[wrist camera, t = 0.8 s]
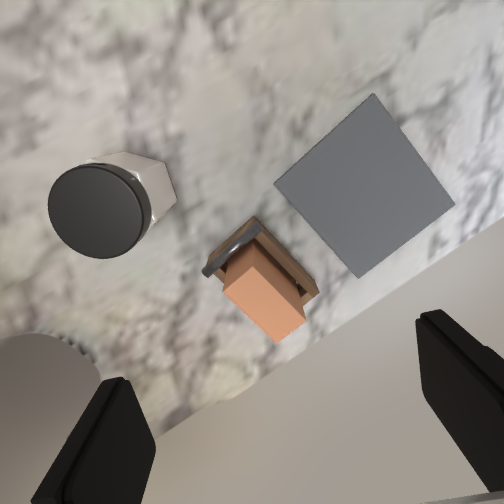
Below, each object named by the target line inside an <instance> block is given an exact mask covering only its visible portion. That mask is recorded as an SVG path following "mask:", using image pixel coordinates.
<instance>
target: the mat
mask: <svg viewBox="0 0 504 504" xmlns="http://www.w3.org/2000/svg"><path fill="white" fill-rule="evenodd" d="M274 185H275V186H276V188H277V189H278V190H279V191H280V192H281V193H282V194H283V195H284V196H285V198H286V199H287V200H288V201H289V202H290V203H291V204H292V205H293V207H294V208H295V209H296V210H297V211H298V212H299V213H300V214H301V216H302V217H303V218H304V219H305V220H306V221H307V222H308V223H309V224H310V226H311V227H312V228H313V229H314V230H315V231H316V232H317V233H318V235H319V236H320V237H321V238H322V239H323V240H324V241H325V242H326V244H327V245H328V246H329V247H330V248H331V249H332V250H333V251H334V252H335V254H336V255H337V256H338V257H339V258H340V259H341V260H342V261H343V263H344V264H345V265H346V266H347V267H348V268H349V269H350V270H351V271H352V273H353V274H354V275H355V276H356V277H357V278H358V279H359V278H360V277H362V276H363V275H364V274H365V273H367V272H368V271H369V270H371V269H372V268H373V267H375V266H376V265H377V264H379V263H380V262H381V261H382V260H384V259H385V258H386V257H388V256H389V255H390V254H392V253H393V252H394V251H396V250H397V249H398V248H399V247H401V246H402V245H403V244H405V243H406V242H407V241H409V240H410V239H411V238H413V237H414V236H415V235H416V234H418V233H419V232H420V231H422V230H423V229H424V228H426V227H427V226H428V225H430V224H431V223H432V222H433V221H435V220H436V219H437V218H439V217H440V216H441V215H443V214H444V213H445V212H447V211H448V210H449V209H450V208H452V207H453V206H454V205H456V204H455V203H454V202H453V200H452V199H451V197H450V196H449V195H448V193H447V192H446V191H445V189H444V188H443V187H442V185H441V184H440V182H439V181H438V180H437V178H436V177H435V176H434V174H433V173H432V172H431V170H430V169H429V167H428V166H427V165H426V163H425V162H424V161H423V159H422V158H421V156H420V155H419V154H418V152H417V151H416V150H415V148H414V147H413V146H412V144H411V143H410V141H409V140H408V139H407V137H406V136H405V135H404V133H403V132H402V131H401V129H400V128H399V126H398V125H397V124H396V122H395V121H394V120H393V118H392V117H391V116H390V114H389V113H388V111H387V110H386V109H385V107H384V106H383V105H382V103H381V102H380V101H379V99H378V98H377V96H376V95H375V94H372V95H371V96H369V97H368V98H367V99H366V100H365V101H364V102H363V103H362V104H361V105H360V106H358V107H357V108H356V109H355V110H354V111H353V112H352V113H351V114H350V115H349V116H347V117H346V118H345V119H344V120H343V121H342V122H341V123H340V124H339V125H338V126H336V127H335V128H334V129H333V130H332V131H331V132H330V133H329V134H328V135H327V136H325V137H324V138H323V139H322V140H321V141H320V142H319V143H318V144H317V145H316V146H314V147H313V148H312V149H311V150H310V151H309V152H308V153H307V154H306V155H305V156H303V157H302V158H301V159H300V160H299V161H298V162H297V163H296V164H295V165H294V166H292V167H291V168H290V169H289V170H288V171H287V172H286V173H285V174H284V175H283V176H281V177H280V178H279V179H278V180H277V181H276V182H275V183H274Z"/></svg>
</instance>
